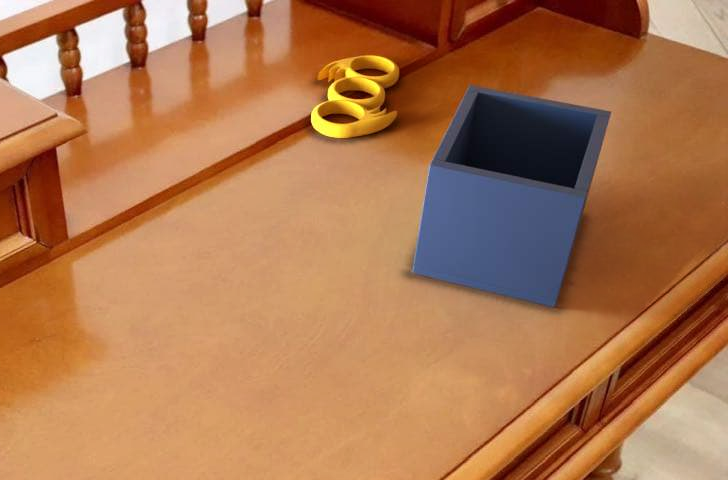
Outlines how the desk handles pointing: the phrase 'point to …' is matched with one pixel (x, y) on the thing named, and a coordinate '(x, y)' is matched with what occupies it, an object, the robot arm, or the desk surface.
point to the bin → (509, 193)
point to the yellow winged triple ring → (358, 108)
